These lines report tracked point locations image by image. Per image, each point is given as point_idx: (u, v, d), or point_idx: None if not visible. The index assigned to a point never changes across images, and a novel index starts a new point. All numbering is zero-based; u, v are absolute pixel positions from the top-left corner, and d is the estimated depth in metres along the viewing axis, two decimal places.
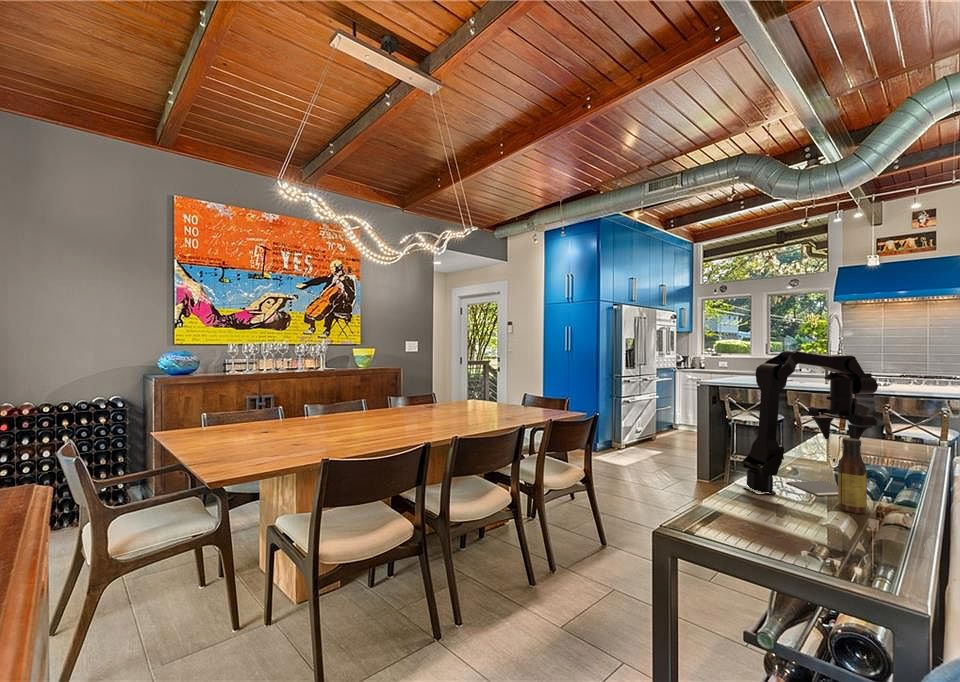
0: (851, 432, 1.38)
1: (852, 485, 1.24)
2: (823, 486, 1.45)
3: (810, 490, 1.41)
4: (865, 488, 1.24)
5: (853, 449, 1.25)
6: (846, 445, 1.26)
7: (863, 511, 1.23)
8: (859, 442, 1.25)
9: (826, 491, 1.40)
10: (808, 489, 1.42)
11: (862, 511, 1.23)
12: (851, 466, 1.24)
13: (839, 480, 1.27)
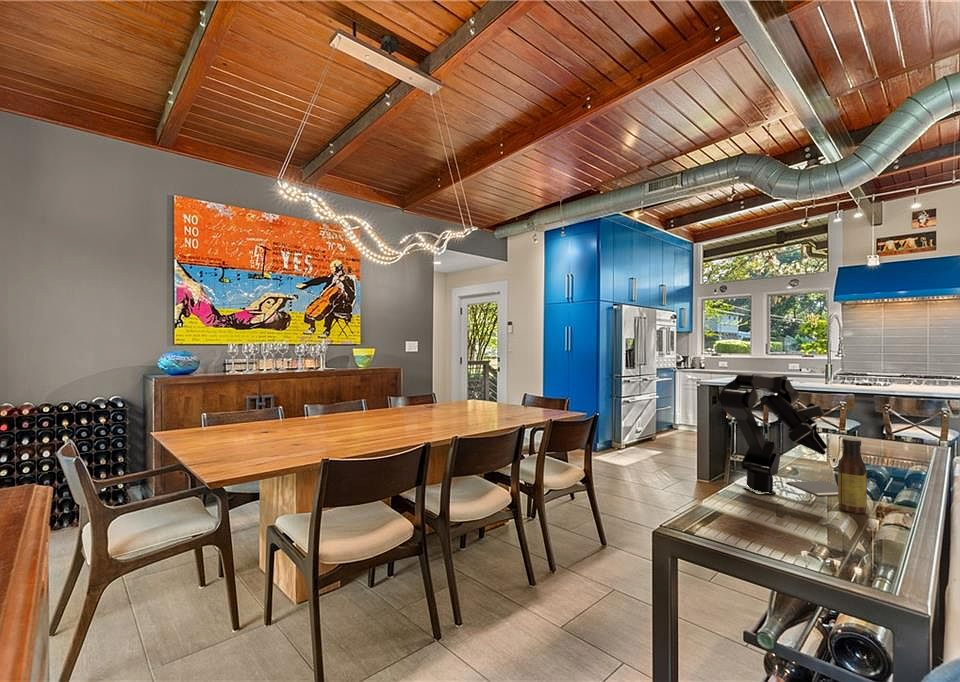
0: None
1: (852, 485, 1.24)
2: (823, 486, 1.45)
3: (810, 490, 1.41)
4: (865, 488, 1.24)
5: (853, 449, 1.25)
6: (846, 445, 1.26)
7: (863, 511, 1.23)
8: (859, 442, 1.25)
9: (826, 491, 1.40)
10: (808, 489, 1.42)
11: (862, 511, 1.23)
12: (851, 466, 1.24)
13: (839, 480, 1.27)
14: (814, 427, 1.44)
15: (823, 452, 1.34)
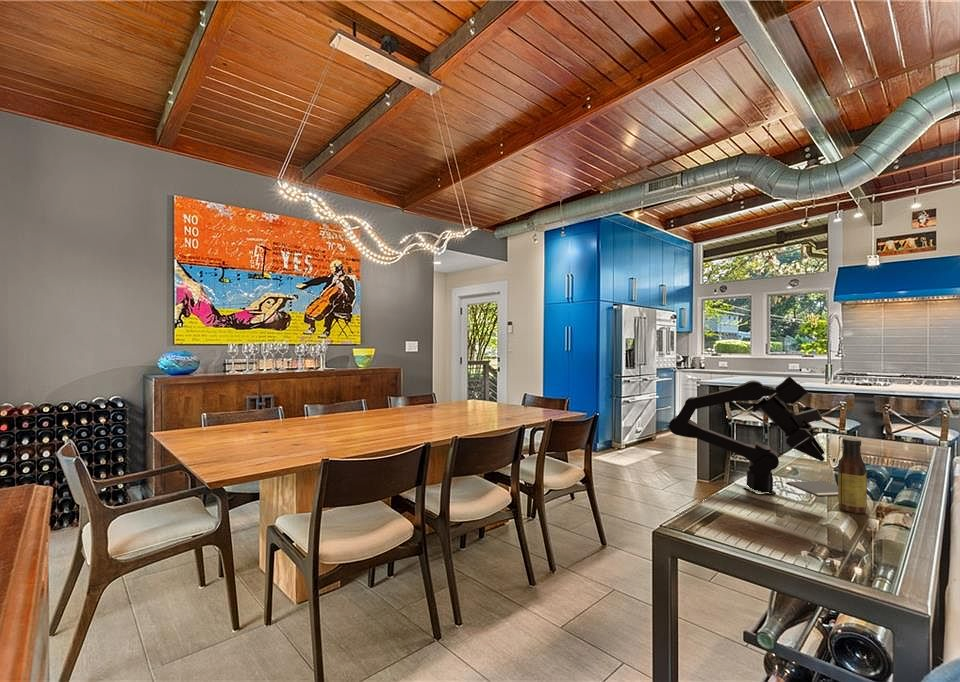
0: None
1: (852, 485, 1.24)
2: (823, 486, 1.45)
3: (810, 490, 1.41)
4: (865, 488, 1.24)
5: (853, 449, 1.25)
6: (846, 445, 1.26)
7: (863, 511, 1.23)
8: (859, 442, 1.25)
9: (826, 491, 1.40)
10: (808, 489, 1.42)
11: (862, 511, 1.23)
12: (851, 466, 1.24)
13: (839, 480, 1.27)
14: (810, 431, 1.37)
15: (822, 458, 1.27)
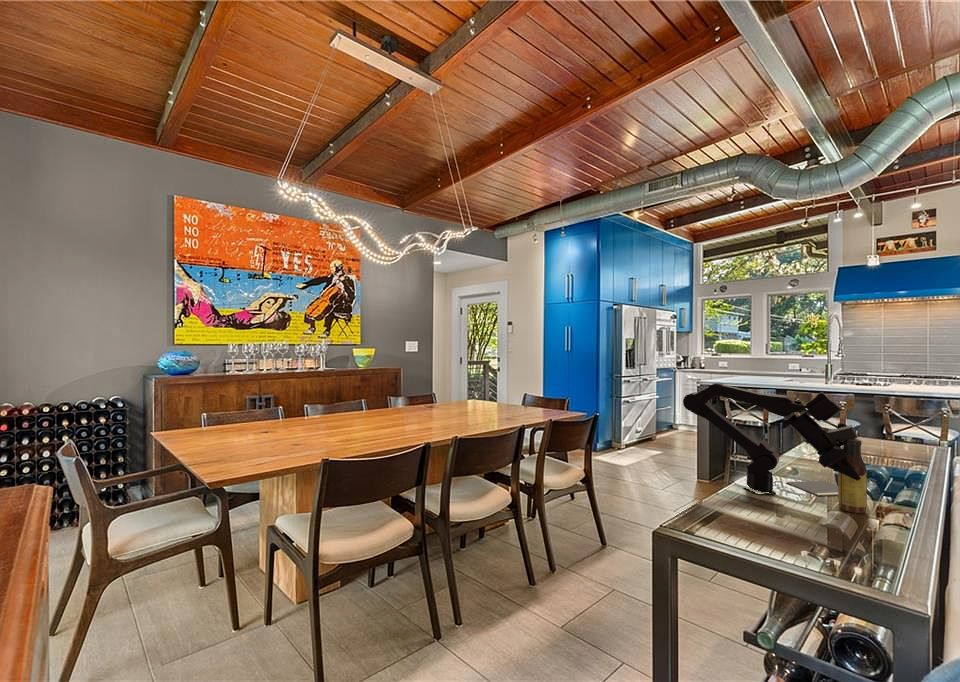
0: None
1: (852, 485, 1.24)
2: (823, 486, 1.45)
3: (810, 490, 1.41)
4: (865, 488, 1.24)
5: (853, 449, 1.25)
6: (846, 445, 1.26)
7: (863, 511, 1.23)
8: (859, 442, 1.25)
9: (826, 491, 1.40)
10: (808, 489, 1.42)
11: (862, 511, 1.23)
12: None
13: (839, 480, 1.27)
14: None
15: (858, 478, 1.23)
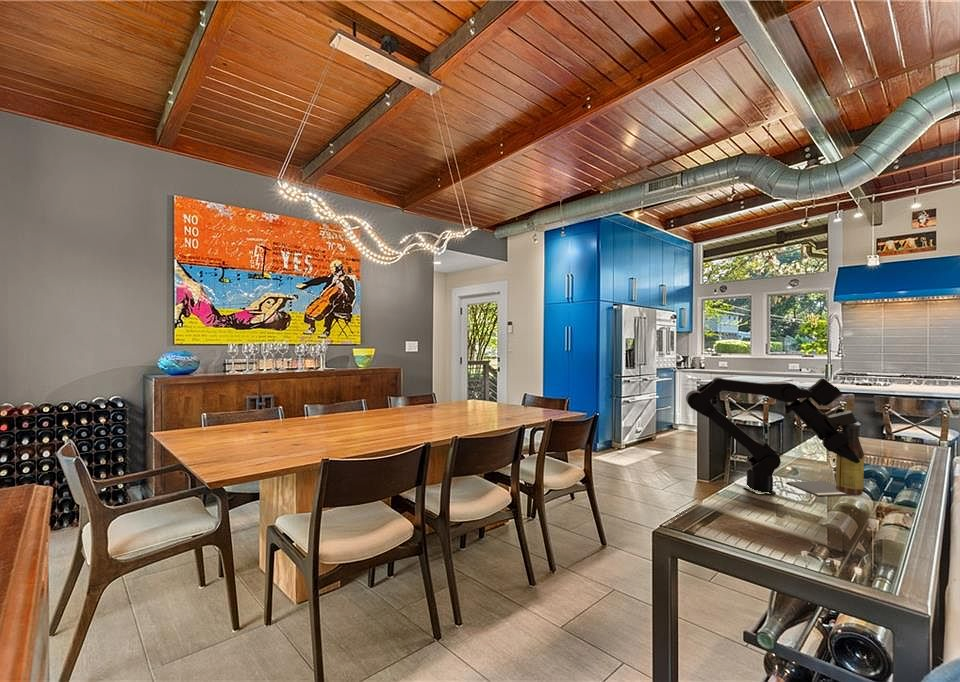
0: (838, 454, 1.29)
1: (851, 468, 1.28)
2: (823, 486, 1.45)
3: (810, 490, 1.41)
4: (863, 471, 1.28)
5: (853, 433, 1.29)
6: (846, 430, 1.30)
7: (860, 493, 1.28)
8: (858, 427, 1.29)
9: (826, 491, 1.40)
10: (808, 489, 1.42)
11: (860, 493, 1.28)
12: None
13: (838, 463, 1.31)
14: None
15: (857, 461, 1.27)
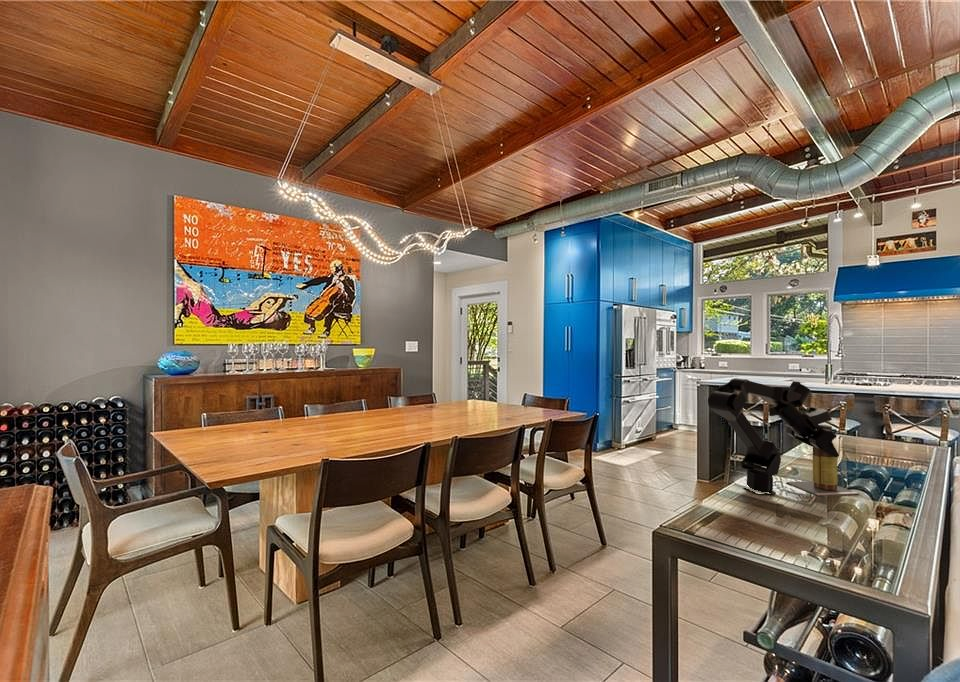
0: None
1: (830, 466, 1.40)
2: None
3: (810, 490, 1.41)
4: None
5: None
6: None
7: (836, 487, 1.41)
8: (831, 427, 1.42)
9: (826, 491, 1.40)
10: (808, 489, 1.42)
11: (836, 488, 1.41)
12: None
13: (817, 463, 1.43)
14: None
15: (837, 455, 1.39)
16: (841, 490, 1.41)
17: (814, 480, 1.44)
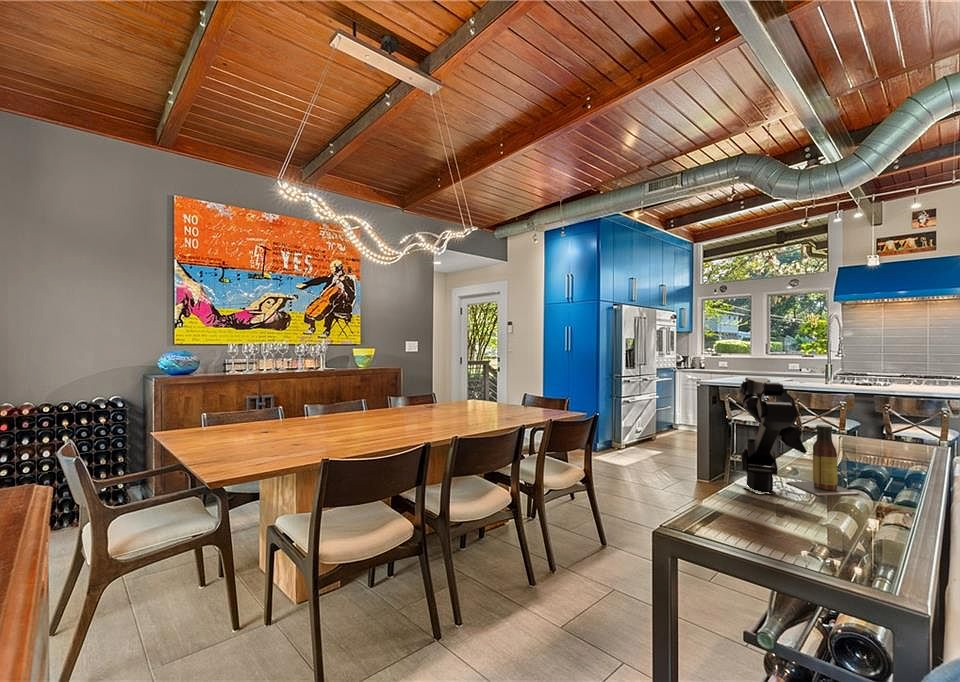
0: None
1: (830, 466, 1.40)
2: None
3: (810, 490, 1.41)
4: None
5: (828, 434, 1.42)
6: (822, 431, 1.42)
7: (836, 488, 1.41)
8: (831, 428, 1.42)
9: (826, 491, 1.40)
10: (808, 489, 1.42)
11: (836, 488, 1.41)
12: (829, 450, 1.41)
13: (817, 463, 1.43)
14: None
15: (805, 451, 1.41)
16: (841, 490, 1.41)
17: (814, 480, 1.44)
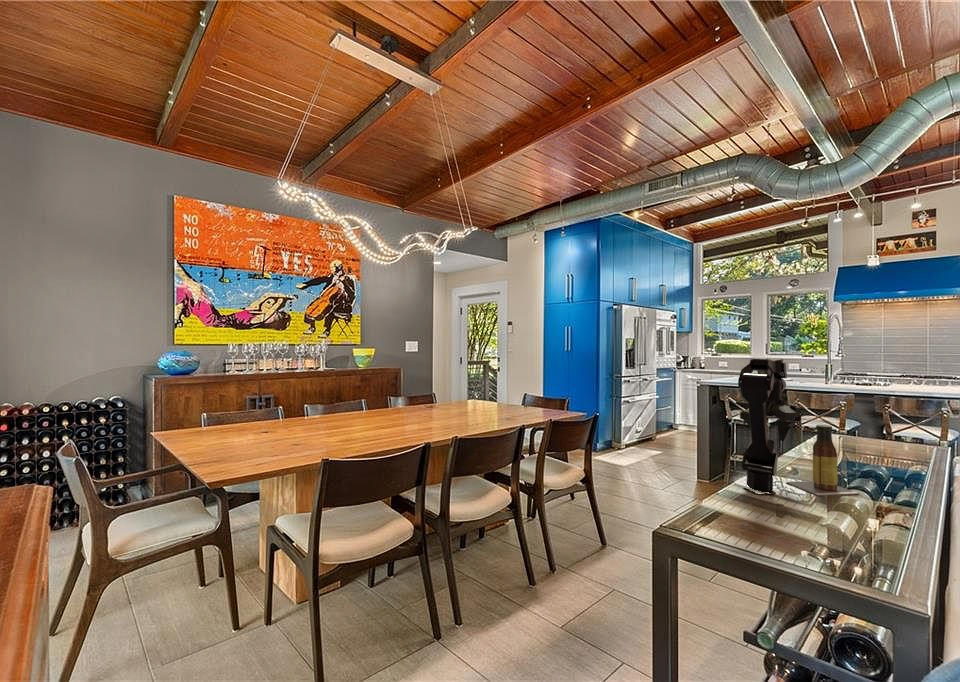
0: None
1: (830, 466, 1.40)
2: None
3: (810, 490, 1.41)
4: None
5: (828, 434, 1.42)
6: (822, 431, 1.42)
7: (836, 488, 1.41)
8: (831, 428, 1.42)
9: (826, 491, 1.40)
10: (808, 489, 1.42)
11: (836, 488, 1.41)
12: (829, 450, 1.41)
13: (817, 463, 1.43)
14: (788, 423, 1.51)
15: None
16: (841, 490, 1.41)
17: (814, 480, 1.44)
